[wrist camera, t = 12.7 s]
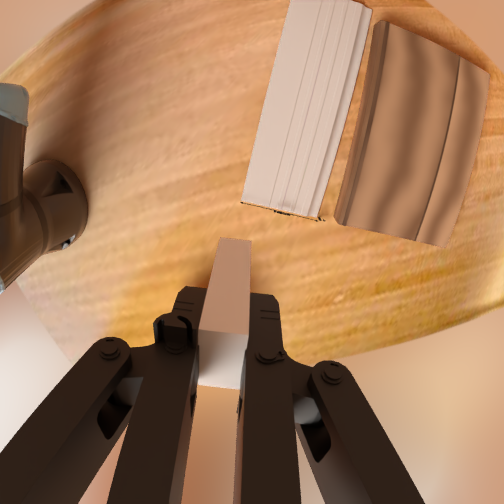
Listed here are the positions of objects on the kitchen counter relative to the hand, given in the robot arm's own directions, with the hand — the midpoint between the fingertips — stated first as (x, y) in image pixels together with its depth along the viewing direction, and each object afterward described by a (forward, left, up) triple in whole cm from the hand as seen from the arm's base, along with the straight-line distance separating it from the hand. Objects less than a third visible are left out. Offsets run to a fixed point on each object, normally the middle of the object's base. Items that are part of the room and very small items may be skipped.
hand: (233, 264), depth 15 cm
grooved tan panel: (+21, +9, -27) cm, 35 cm away
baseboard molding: (+6, +10, -27) cm, 30 cm away
